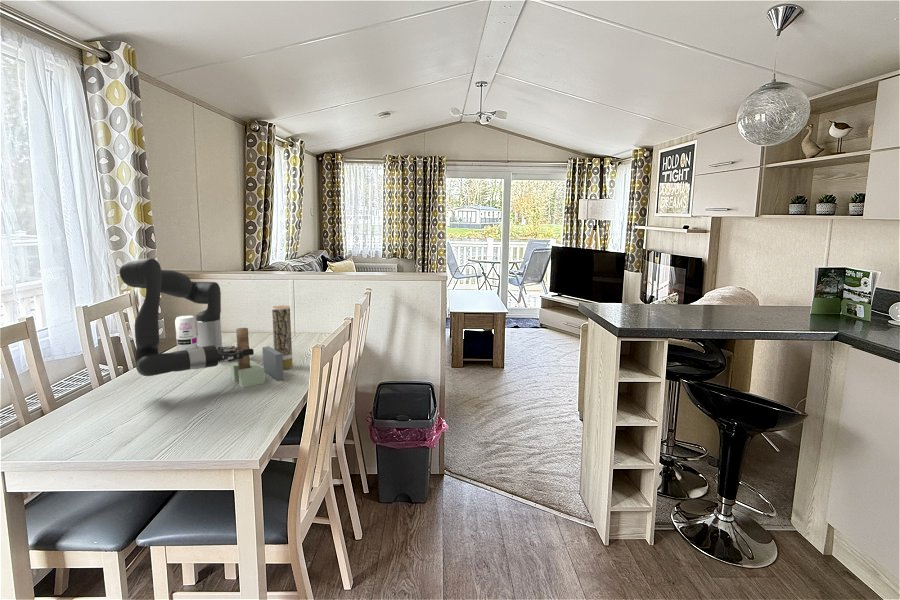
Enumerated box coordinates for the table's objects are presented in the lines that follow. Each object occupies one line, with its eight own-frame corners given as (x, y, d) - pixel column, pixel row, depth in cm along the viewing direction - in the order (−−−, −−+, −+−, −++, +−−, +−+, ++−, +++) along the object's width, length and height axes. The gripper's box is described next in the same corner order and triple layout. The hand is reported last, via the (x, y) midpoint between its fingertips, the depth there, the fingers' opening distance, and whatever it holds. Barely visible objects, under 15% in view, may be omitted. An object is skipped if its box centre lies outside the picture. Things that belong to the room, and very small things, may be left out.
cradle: (231, 377, 202) (230, 363, 201) (252, 373, 207) (251, 360, 206) (242, 387, 191) (242, 372, 190) (265, 383, 196) (264, 368, 195)
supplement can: (191, 346, 248) (188, 314, 245) (200, 348, 243) (198, 316, 241) (173, 349, 241) (171, 317, 239) (183, 352, 237) (180, 319, 234)
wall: (263, 371, 209) (262, 347, 208) (270, 370, 211) (268, 346, 209) (276, 380, 199) (275, 354, 197) (283, 379, 200) (282, 353, 198)
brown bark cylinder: (287, 370, 211) (284, 308, 207) (271, 369, 213) (268, 307, 209) (295, 365, 218) (293, 305, 214) (280, 364, 219) (277, 305, 215)
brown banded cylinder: (237, 375, 198) (234, 328, 195) (248, 373, 201) (245, 327, 198) (240, 378, 195) (238, 330, 192) (252, 376, 198) (249, 329, 195)
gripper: (206, 351, 181) (257, 344, 192) (196, 343, 192) (244, 336, 203) (208, 372, 183) (258, 364, 193) (197, 363, 194) (245, 355, 204)
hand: (251, 350), depth 198 cm, fingers closed on brown banded cylinder, 4 cm apart
